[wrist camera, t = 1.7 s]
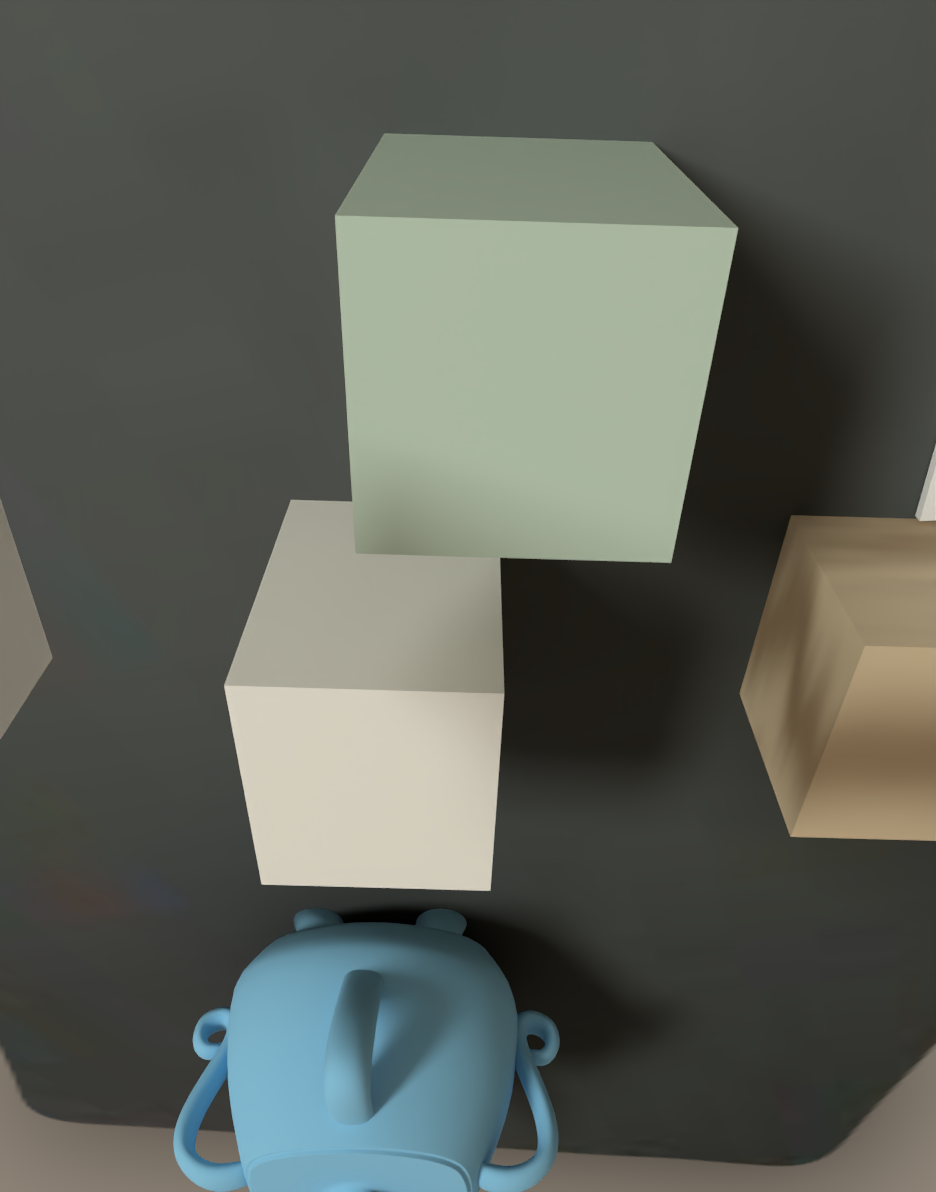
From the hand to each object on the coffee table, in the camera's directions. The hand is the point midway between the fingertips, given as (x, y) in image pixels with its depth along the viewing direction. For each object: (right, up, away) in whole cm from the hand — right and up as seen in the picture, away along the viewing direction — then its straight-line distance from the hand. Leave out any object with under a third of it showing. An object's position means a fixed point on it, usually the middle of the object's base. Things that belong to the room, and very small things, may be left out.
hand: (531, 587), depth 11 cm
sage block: (0, +8, +10) cm, 13 cm away
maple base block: (+11, -1, +16) cm, 19 cm away
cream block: (-3, 0, +16) cm, 16 cm away
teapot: (-5, -17, +28) cm, 34 cm away
